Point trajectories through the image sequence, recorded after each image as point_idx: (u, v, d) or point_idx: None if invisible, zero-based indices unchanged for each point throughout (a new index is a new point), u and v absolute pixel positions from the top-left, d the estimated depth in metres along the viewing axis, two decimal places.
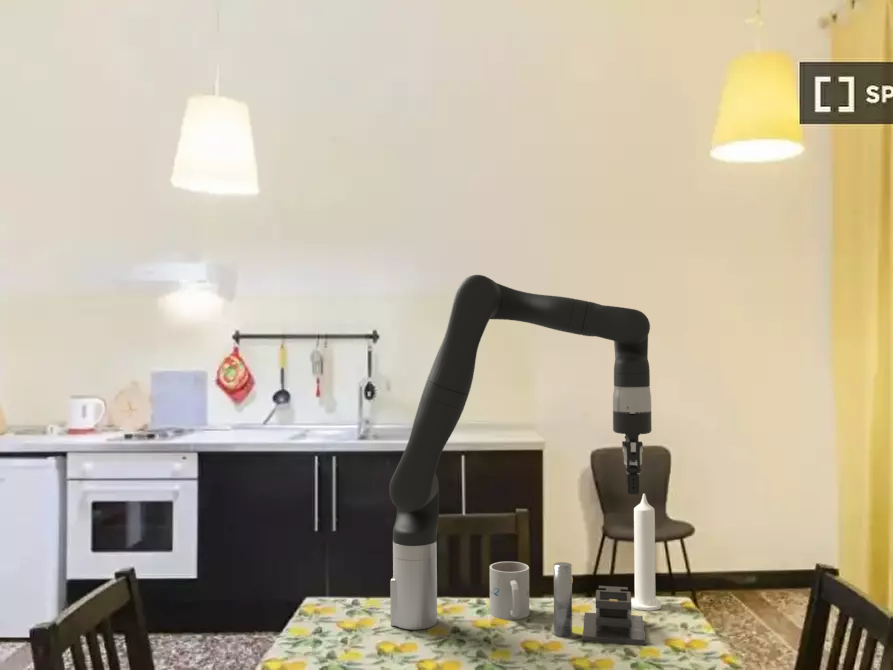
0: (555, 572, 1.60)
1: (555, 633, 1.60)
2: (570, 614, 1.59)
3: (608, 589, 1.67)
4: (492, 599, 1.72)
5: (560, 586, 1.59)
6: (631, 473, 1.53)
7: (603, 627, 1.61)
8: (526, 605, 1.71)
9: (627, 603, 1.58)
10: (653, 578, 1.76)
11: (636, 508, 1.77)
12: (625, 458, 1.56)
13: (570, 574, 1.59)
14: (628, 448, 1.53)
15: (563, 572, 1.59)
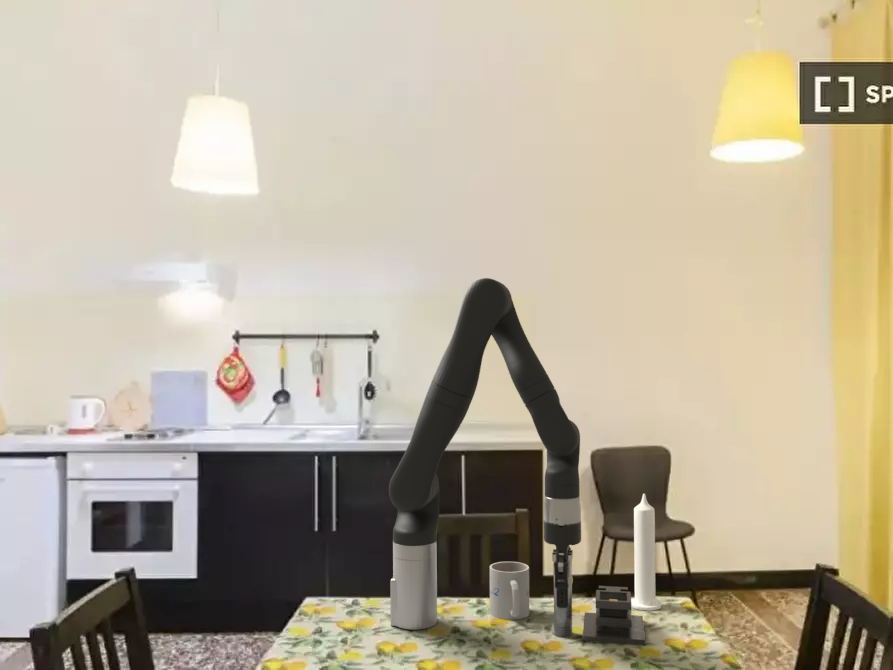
0: None
1: (555, 633, 1.60)
2: (570, 614, 1.59)
3: (608, 589, 1.67)
4: (492, 599, 1.72)
5: None
6: (559, 588, 1.57)
7: (603, 627, 1.61)
8: (526, 605, 1.71)
9: (627, 603, 1.58)
10: (653, 578, 1.76)
11: (636, 508, 1.77)
12: (554, 572, 1.58)
13: None
14: (556, 569, 1.54)
15: None
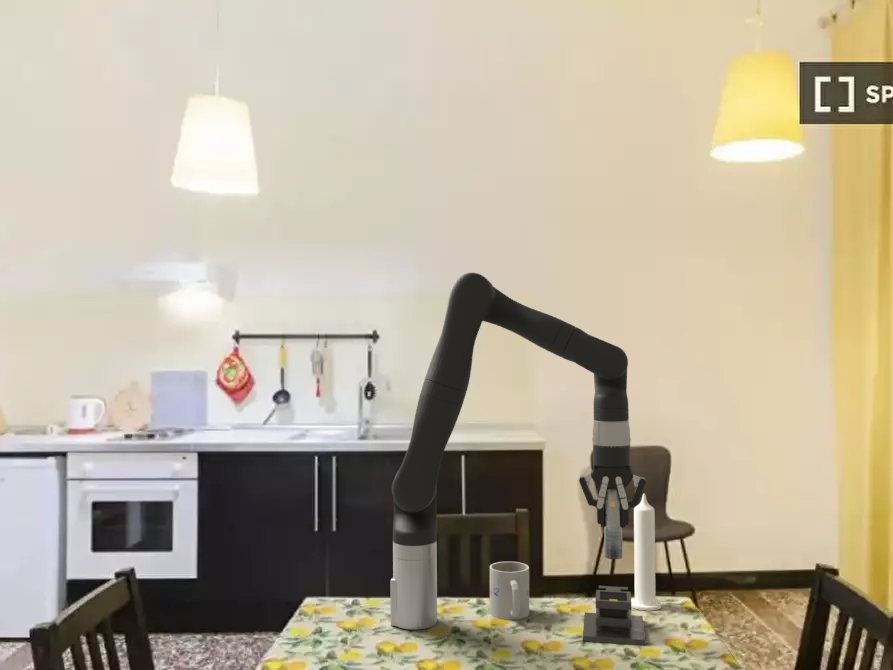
0: None
1: None
2: (608, 536, 1.61)
3: (608, 589, 1.67)
4: (492, 599, 1.72)
5: None
6: None
7: (603, 627, 1.61)
8: (526, 605, 1.71)
9: (627, 603, 1.58)
10: (653, 578, 1.76)
11: (636, 508, 1.77)
12: None
13: (608, 497, 1.61)
14: None
15: None
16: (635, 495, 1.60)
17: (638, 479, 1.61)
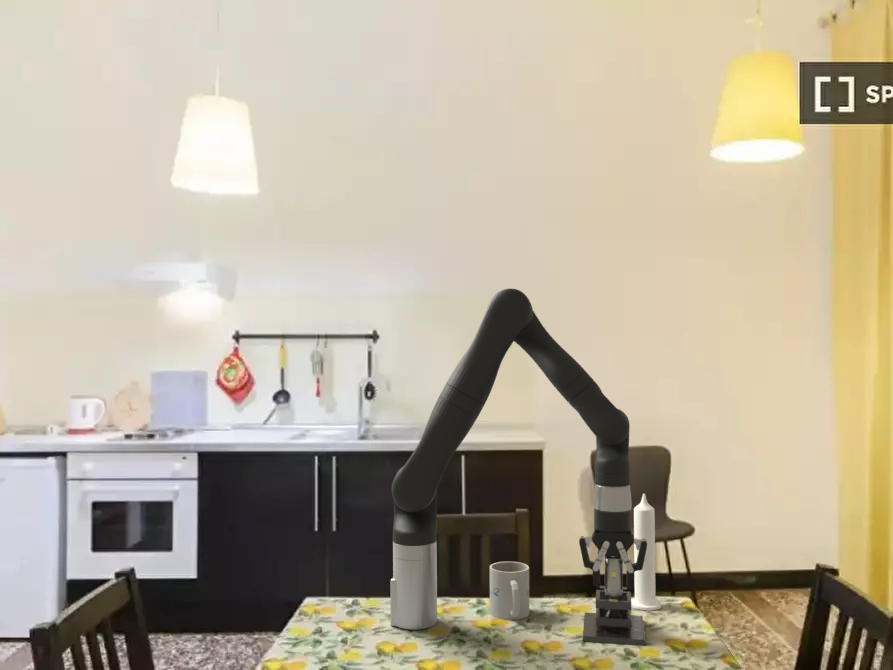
0: None
1: None
2: None
3: None
4: (492, 599, 1.71)
5: None
6: None
7: (603, 627, 1.61)
8: (526, 605, 1.71)
9: (627, 603, 1.58)
10: (653, 578, 1.76)
11: (636, 508, 1.77)
12: None
13: (610, 566, 1.61)
14: None
15: None
16: (639, 559, 1.60)
17: (639, 542, 1.61)
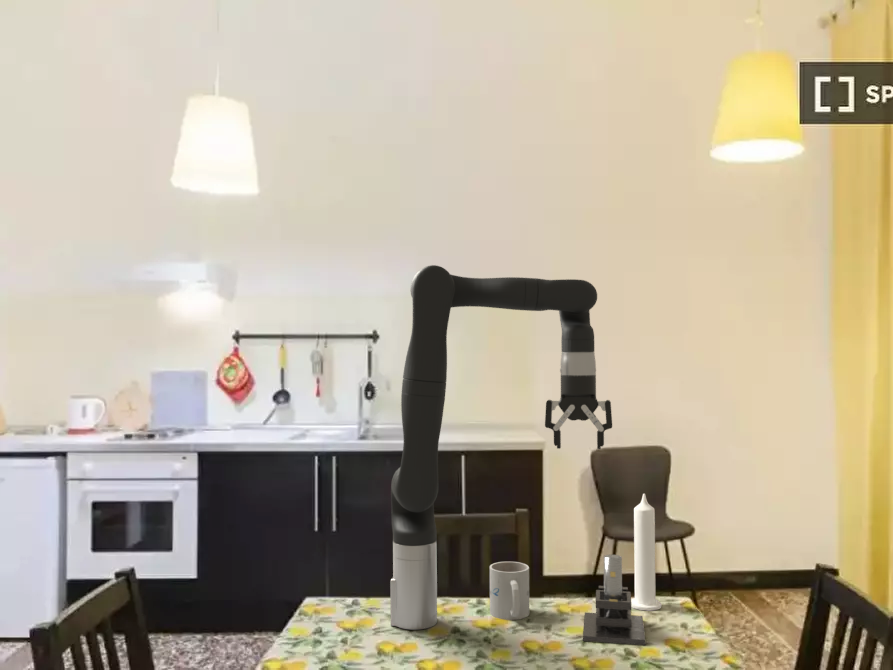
0: None
1: None
2: None
3: None
4: (492, 599, 1.71)
5: None
6: None
7: (603, 627, 1.61)
8: (526, 605, 1.71)
9: (627, 603, 1.58)
10: (653, 578, 1.76)
11: (636, 508, 1.77)
12: None
13: (609, 567, 1.61)
14: None
15: None
16: (607, 418, 1.69)
17: (603, 403, 1.70)
